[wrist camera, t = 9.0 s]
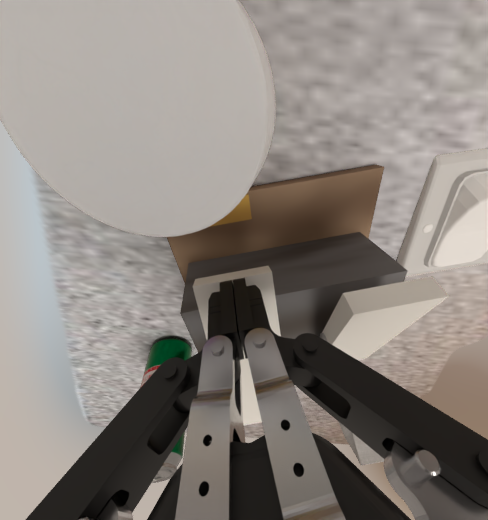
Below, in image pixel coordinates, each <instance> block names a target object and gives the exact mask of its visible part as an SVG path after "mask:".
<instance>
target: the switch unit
mask: <svg viewBox="0 0 488 520" xmlns="http://www.w3.org/2000/svg"><path fill="white" fill-rule="evenodd" d="M383 170H384V167H382V166H379V165H371V166H365V167H360V168H354V169H348V170H343V171H337V172H331V173H326V174H320V175H314V176H309V177H303V178H298V179H292V180H286V181H281V182H275V183H269V184H264V185H258V186H252V187H250V189H249V191H248V192H247V194H246V195H245V197H244V198H243V199H242V200H241V202H240V203H239V204H238V205H237V206H236V207H235V208H234V209H233V210H232V211H231V212H230V213H229V214H228V215H226V216H225V217H224V218H222V219H221V220H219V221H218V222H216V223H215V224H213V225H211V226H209V227H207V228H205V229H202V230H200V231H197V232H194V233H190V234H185V235H181V236H174V237H167V239H168V242H169V244H170V247H171V249H172V252H173V254H174V257H175V259H176V262H177V265H178V267H179V270H180V272H181V275H182V277H183V280H184V282H185V288H184V294H183V301H182V307H181V313H180V314H181V316H182V318H183V320H184V322H185V324H186V327H187V329H188V331H189V333H190V335H191V337H192V340H193V342H194V344H195V346H196V348H197V351H198V353H199V352H200V351H201V350H202V349H203V347H204V345H205V343H206V342H207V339H206V335H205V332H204V328H203V324H202V320H201V317H200V313H199V309H198V305H197V302H196V298H195V294H194V290H193V284H194V281H195V279H198V278H203V277H209V276H214V275H220V274H225V273H231V272H236V271H241V270H247V269H252V268H258V267H263V266H269V268H270V269H271V271H272V276H273V283H274V290H275V297H276V305H277V312H278V319H279V326H280V334H281V337H284V338H292V339H295V338H296V337H297V336H299V335H301V334H304V333H311V334H315V335H317V336H319V337H320V333H322V332H323V330H324V328H325V326H326V324H327V322H328V320H329V319H330V317H331V315H332V313H333V311H334V309H335V307H336V305H337V303H338V302H339V300H340V298H341V296H342V294H343V293H346V292H351V291H357V290H362V289H367V288H372V287H378V286H383V285H388V284H394V283H399V282H404V279H405V277H406V274H407V272H408V271H407V270H406V269H405V268H404V267H403V266H401V265H400V264H399V263H398V262H396V261H395V260H394V259H393V258H391V257H390V256H389V255H388V254H386V253H385V252H384V251H383V250H382V249H380V248H379V247H378V246H377V245H375V244H374V243H373V242H372V241H370V240H369V239H368V237H369V233H370V228H371V224H372V219H373V215H374V210H375V206H376V201H377V197H378V192H379V188H380V183H381V179H382V174H383Z"/></svg>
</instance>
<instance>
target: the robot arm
mask: <svg viewBox="0 0 488 520" xmlns="http://www.w3.org/2000/svg"><path fill="white" fill-rule="evenodd" d="M233 286H234V287H233ZM243 350H244V353H243ZM244 354H245V358H246V359H247V358H248V361H249V366H250V370H251V375H252V379H253V384H254V388H255V393H256V398H257V402H258V407H259V411H260V416H261V420H262V425H263V429H264V434H265V435H264V436H262V437H261V438H259V439H257V440H255V441H253V442H252V443H245V432H244V424H243V412H242V382H241V366H240V360H242V359H244ZM294 385H296V386H297V387H298V388H299V389H300V390H301V391H303V392H304V393H305V394H306V395H307V396H309V397H310V398H311V399H312V400H314V401H315V402H316V403H317V404H318V405H320V406H321V407H322V408H323V409H324V410H326V411H327V412H328V413H329V414H330V415H332V416H333V417H334V418H335V419H336V420H338V421H339V422H340V423H341V424H342V425H344V426H345V427H346V428H347V429H348V430H350V431H351V432H352V433H353V434H355V435H356V436H357V437H358V438H359V439H361V440H362V441H363V442H364V443H365V444H367V445H368V446H369V447H370V448H371V449H373V450H374V451H375V452H376V453H377V454H379V455H380V456H381V457H382V458H383V459H384V469H385V473H386V476H387V479H388V481H389V483H390V484H391V486H392V488H393V489H394V490H395V492H396V493H397V494H398V495H399V496H400V497H401V498H402V499H403V500H404V502H405V503H406V504H407V505H408V507H409V509H410V510H411V512H412V514H413V516H414V518H415V520H488V440H487V439H486V438H484V437H482V436H481V435H479V434H477V433H476V432H474V431H473V430H471V429H469V428H468V427H466V426H464V425H463V424H461V423H459V422H458V421H456V420H454V419H453V418H451V417H450V416H448V415H446V414H444V413H443V412H441V411H440V410H438V409H437V408H435V407H433V406H431V405H430V404H428V403H426V402H425V401H423V400H422V399H420V398H419V397H417V396H415V395H414V394H412V393H410V392H409V391H407V390H405V389H404V388H402V387H401V386H399V385H397V384H396V383H394V382H392V381H391V380H389V379H387V378H386V377H384V376H383V375H381V374H379V373H378V372H376V371H374V370H373V369H371V368H369V367H368V366H366V365H365V364H363V363H361V362H360V361H358V360H356V359H355V358H353V357H351V356H350V355H348V354H347V353H345V352H343V351H342V350H340V349H338V348H337V347H335V346H333V345H332V344H330V343H329V342H327V341H325V340H324V339H322V338H320V337H319V336H317V335H315V334H311V333H304V334H301V335H299V336H297V337H296V338H295V339H292V338H284V337H281V336H278V335H277V334H275V333H274V332H273V331H272V329H271V327H270V324H269V321H268V317H267V313H266V309H265V305H264V302H263V298H262V294H261V290H260V289H259V288H258V287H257V286H256V285H251V286H246V281H245V278H240V279H235V280H233V283H232V280H229V281H224V282H220V291H219V292H213V293H212V294H211V296H210V298H209V300H208V338H207V342H206V343H205V345H204V347H203V349H202V350H201V351H200V352H199V353H198V354H196V355H194V356H192V357H190V358H189V359H187V360H185V361H184V360H183V359H181V358H178V357H174V358H170V359H168V360H166V361H165V362H163V363H162V364H161V365H160V366H159V367H158V369H157V370H156V371H155V372H154V373H153V374H152V375H151V377H150V378H149V379H148V380H147V381H146V382H145V383H144V385H143V386H142V387H141V388H140V389H139V390H138V391H137V393H136V394H135V395H134V396H133V397H132V398H131V399H130V401H129V402H128V403H127V404H126V405H125V406H124V408H123V409H122V410H121V411H120V412H119V413H118V414H117V416H116V417H115V418H114V419H113V420H112V421H111V422H110V424H109V425H108V426H107V427H106V428H105V429H104V431H103V432H102V433H101V434H100V435H99V436H98V437H97V439H96V440H95V441H94V442H93V443H92V444H91V445H90V446H89V448H88V449H87V450H86V451H85V452H84V453H83V454H82V456H81V457H80V458H79V459H78V460H77V461H76V463H75V464H74V465H73V466H72V467H71V468H70V469H69V471H68V472H67V473H66V474H65V475H64V476H63V477H62V479H61V480H60V481H59V482H58V483H57V484H56V485H55V487H54V488H53V489H52V490H51V491H50V492H49V493H48V495H47V496H46V497H45V498H44V499H43V500H42V502H41V503H40V504H39V505H38V506H37V507H36V508H35V510H34V511H33V512H32V513H31V514H30V515H29V516H28V518H27V519H26V520H133V516H132V512H133V510H134V509H135V507H136V506H137V504H138V503H139V501H140V500H141V498H142V496H143V495H144V493H145V492H146V490H147V489H148V487H149V485H150V484H151V482H152V481H153V479H154V478H155V476H156V475H157V473H158V472H159V470H160V468H161V467H162V465H163V464H164V462H165V461H166V459H167V458H168V456H169V454H170V453H171V451H172V450H173V448H174V447H175V445H176V444H177V442H178V440H179V439H180V437H181V436H182V434H183V433H184V431H185V430H186V428H187V426H188V429H187V437H186V444H185V451H184V458H183V464H182V465H181V466H180V467H179V469H177V471H176V472H175V473H174V475H173V476H172V477H171V479H170V481H169V482H168V484H167V486H166V488H165V489H164V491H163V493H162V494H161V496H160V498H159V500H158V501H157V503H156V505H155V507H154V509H153V510H152V512H151V514H150V516H149V517H148V519H147V520H411V519H410V518H409V517H408V516H406V515H405V513H403V512H402V511H401V510H400V509H399V508H398V507H397V506H396V505H395V504H394V503H393V502H392V501H391V500H390V499H389V498H388V497H387V496H386V495H385V494H384V493H383V492H382V491H381V490H380V489H379V488H377V486H376V485H374V483H373V482H371V481H370V480H369V479H368V478H367V477H366V476H365V475H364V474H363V473H362V472H361V471H360V470H359V469H358V468H357V467H356V466H355V465H354V464H353V463H352V462H351V461H350V460H349V459H348V458H347V457H346V456H345V455H344V454H342V452H340V451H339V450H338V449H337V448H336V447H335V446H334V445H333V444H331V443H330V442H329V441H327V440H326V439H324V438H322V437H321V436H318V435H316V434H314V433H312V432H311V430H310V427H309V424H308V421H307V419H306V416H305V413H304V411H303V408H302V405H301V403H300V400H299V397H298V395H297V392H296V389H295V387H294Z"/></svg>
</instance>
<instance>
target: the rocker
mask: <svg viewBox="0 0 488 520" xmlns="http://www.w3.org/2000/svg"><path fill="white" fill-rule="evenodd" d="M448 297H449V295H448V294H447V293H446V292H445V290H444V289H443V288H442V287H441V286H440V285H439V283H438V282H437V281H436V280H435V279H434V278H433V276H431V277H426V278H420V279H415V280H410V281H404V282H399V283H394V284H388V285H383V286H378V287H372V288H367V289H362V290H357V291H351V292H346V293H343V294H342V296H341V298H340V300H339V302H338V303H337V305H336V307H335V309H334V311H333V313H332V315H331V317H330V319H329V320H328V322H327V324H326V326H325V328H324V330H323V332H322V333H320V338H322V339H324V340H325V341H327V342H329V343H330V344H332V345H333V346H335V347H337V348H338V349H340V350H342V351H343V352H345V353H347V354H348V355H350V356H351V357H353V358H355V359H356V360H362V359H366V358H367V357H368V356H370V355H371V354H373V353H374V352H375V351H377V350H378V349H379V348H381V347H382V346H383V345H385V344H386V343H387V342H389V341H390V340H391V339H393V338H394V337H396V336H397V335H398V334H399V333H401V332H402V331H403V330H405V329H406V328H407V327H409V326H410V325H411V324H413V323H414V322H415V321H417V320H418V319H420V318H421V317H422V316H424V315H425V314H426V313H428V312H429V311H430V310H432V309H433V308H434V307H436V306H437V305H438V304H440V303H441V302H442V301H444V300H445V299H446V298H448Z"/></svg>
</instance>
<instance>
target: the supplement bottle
mask: <svg viewBox="0 0 488 520" xmlns="http://www.w3.org/2000/svg"><path fill="white" fill-rule="evenodd" d="M275 116H276V99H275V88H274V81H273V75H272V70H271V66H270V63H269V59H268V56H267V53H266V50H265V47H264V45H263V42H262V40H261V38H260V36H259V33H258V31H257V29H256V27H255V25H254V23H253V22H252V20H251V18H250V16H249V15H248V13H247V11H246V10H245V8H244V7H243V5H242V4H241V2H240V1H239V0H0V120H1V122H2V123H3V125H4V127H5V129H6V130H7V132H8V134H9V135H10V137H11V139H12V140H13V142H14V143H15V145H16V146H17V148H18V150H19V151H20V152H21V154H22V155H23V157H24V158H25V159H26V161H27V162H28V163H29V164H30V166H31V167H32V168H33V169H34V170H35V172H36V173H37V174H38V175H39V176H40V177H41V178H42V179H43V180H44V181H45V182H46V183H47V184H48V185H49V186H50V187H51V188H52V189H53V190H54V191H56V192H57V193H58V194H59V195H60V196H61V197H62V198H64V199H65V200H66V201H68V202H69V203H70V204H72V205H73V206H75V207H76V208H77V209H79V210H80V211H82V212H84V213H85V214H87V215H89V216H91V217H92V218H94V219H96V220H98V221H100V222H102V223H104V224H107V225H109V226H111V227H113V228H116V229H119V230H122V231H126V232H129V233H133V234H138V235H144V236H150V237H174V236H181V235H185V234H190V233H194V232H197V231H200V230H202V229H205V228H207V227H209V226H211V225H213V224H215V223H216V222H218V221H219V220H221V219H222V218H224V217H225V216H226V215H228V214H229V213H230V212H231V211H232V210H233V209H234V208H235V207H236V206H237V205H238V204H239V203H240V202H241V200H242V199H243V198H244V197H245V195H246V194H247V192H248V191H249V189H250V187H251V186H252V184H253V182H254V181H255V179H256V178H257V176H258V174H259V173H260V171H261V169H262V167H263V165H264V163H265V161H266V158H267V155H268V153H269V149H270V146H271V142H272V138H273V133H274V127H275Z"/></svg>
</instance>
